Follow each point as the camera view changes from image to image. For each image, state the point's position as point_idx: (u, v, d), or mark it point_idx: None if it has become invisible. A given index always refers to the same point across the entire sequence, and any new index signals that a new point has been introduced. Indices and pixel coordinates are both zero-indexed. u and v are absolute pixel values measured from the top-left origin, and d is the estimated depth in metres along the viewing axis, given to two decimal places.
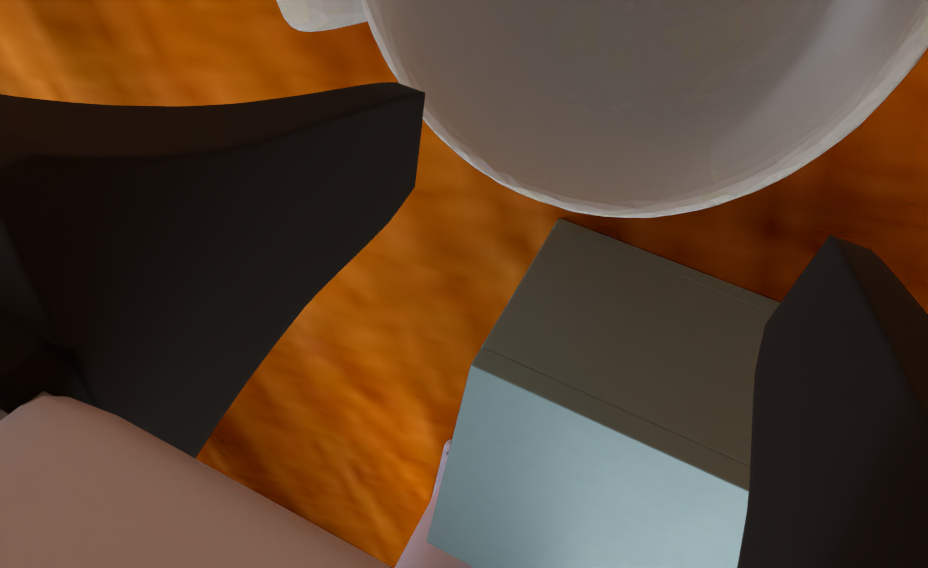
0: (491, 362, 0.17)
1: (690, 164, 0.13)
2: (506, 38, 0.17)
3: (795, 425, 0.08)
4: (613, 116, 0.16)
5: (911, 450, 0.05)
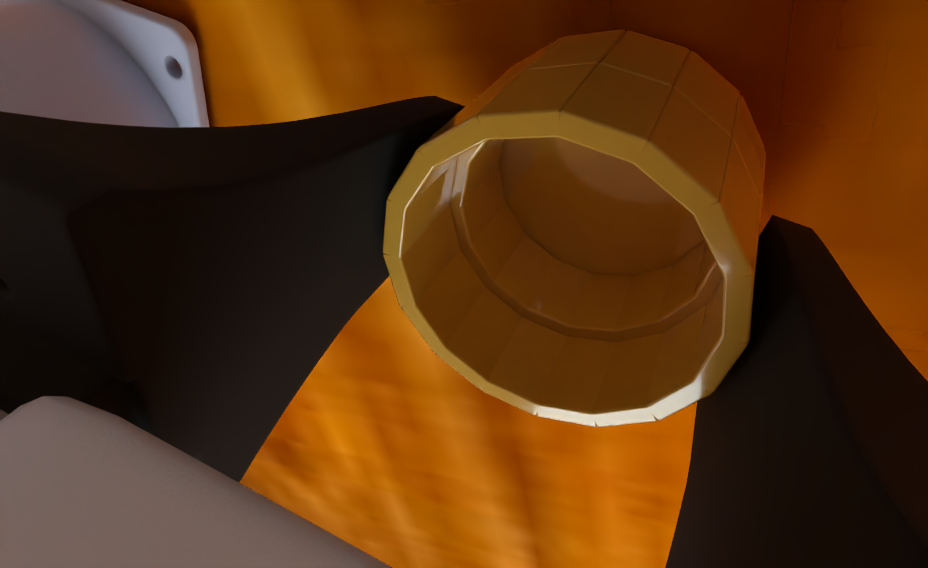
0: None
1: None
2: None
3: (730, 397, 0.08)
4: None
5: (812, 407, 0.05)
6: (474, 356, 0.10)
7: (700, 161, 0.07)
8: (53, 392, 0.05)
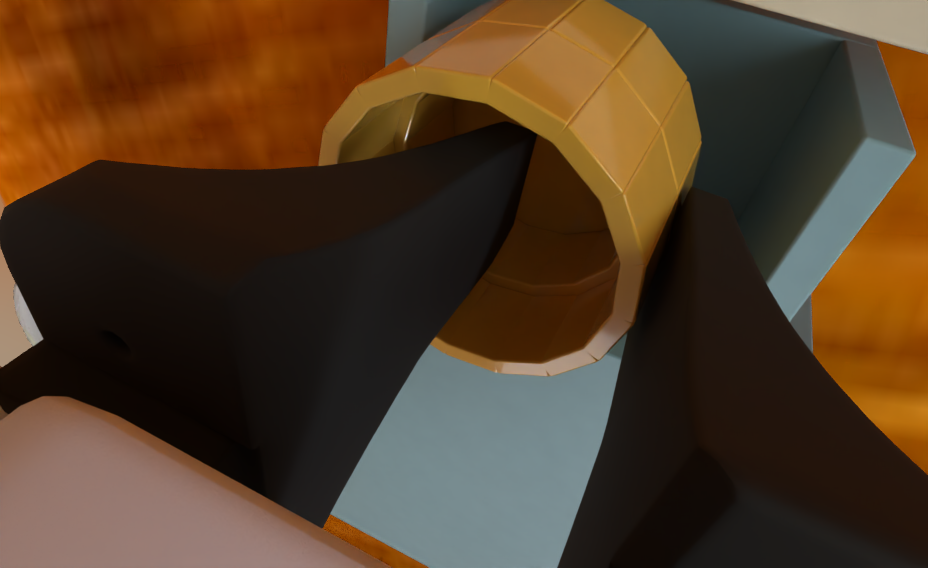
0: None
1: None
2: None
3: (638, 358, 0.08)
4: None
5: (675, 351, 0.06)
6: None
7: (617, 150, 0.07)
8: None
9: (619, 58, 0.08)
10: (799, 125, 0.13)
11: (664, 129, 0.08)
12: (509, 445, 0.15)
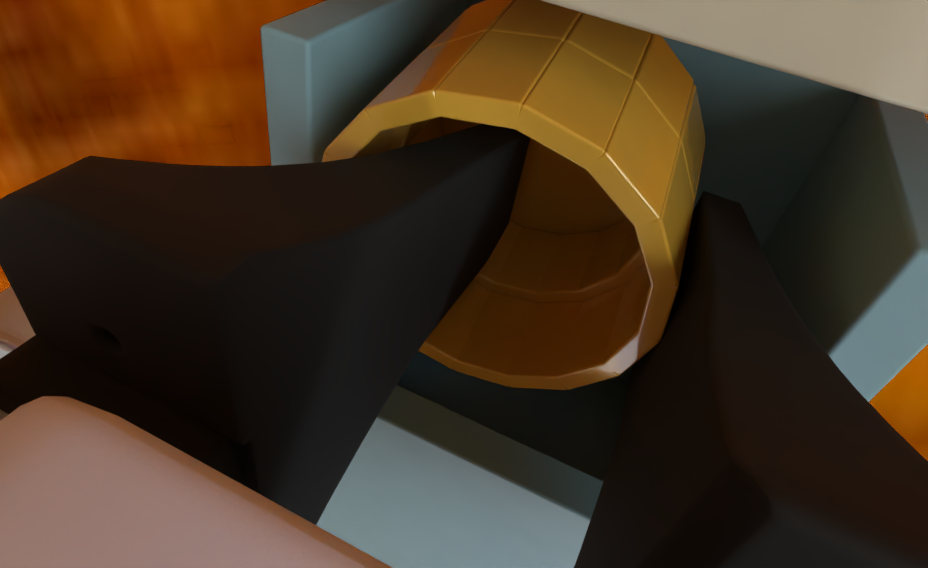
0: None
1: None
2: None
3: (652, 364, 0.08)
4: None
5: (695, 359, 0.06)
6: None
7: (649, 173, 0.07)
8: None
9: (636, 68, 0.08)
10: (812, 186, 0.11)
11: (682, 141, 0.08)
12: None
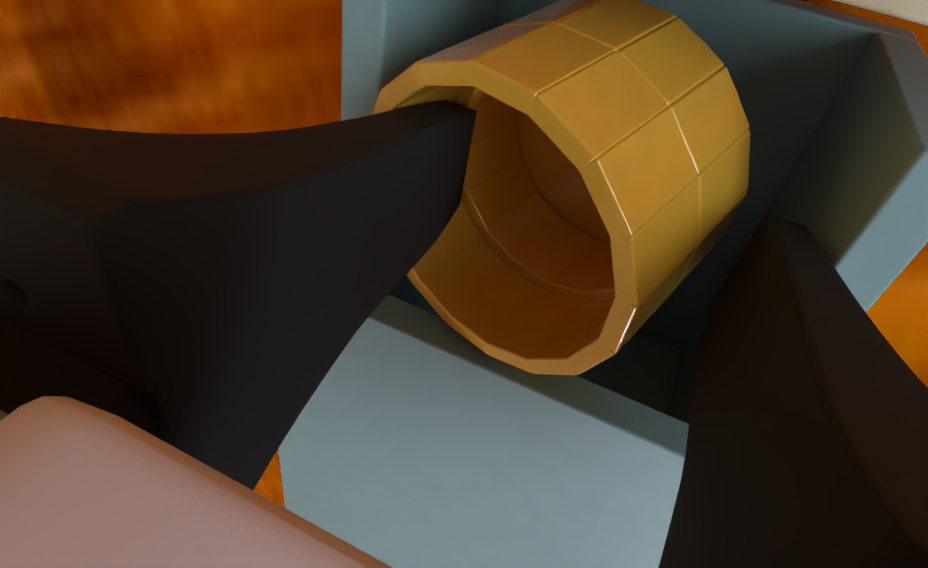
0: None
1: None
2: None
3: (723, 395, 0.08)
4: None
5: (803, 404, 0.05)
6: None
7: (641, 192, 0.07)
8: None
9: (679, 96, 0.08)
10: (824, 130, 0.12)
11: (702, 177, 0.08)
12: (490, 501, 0.14)
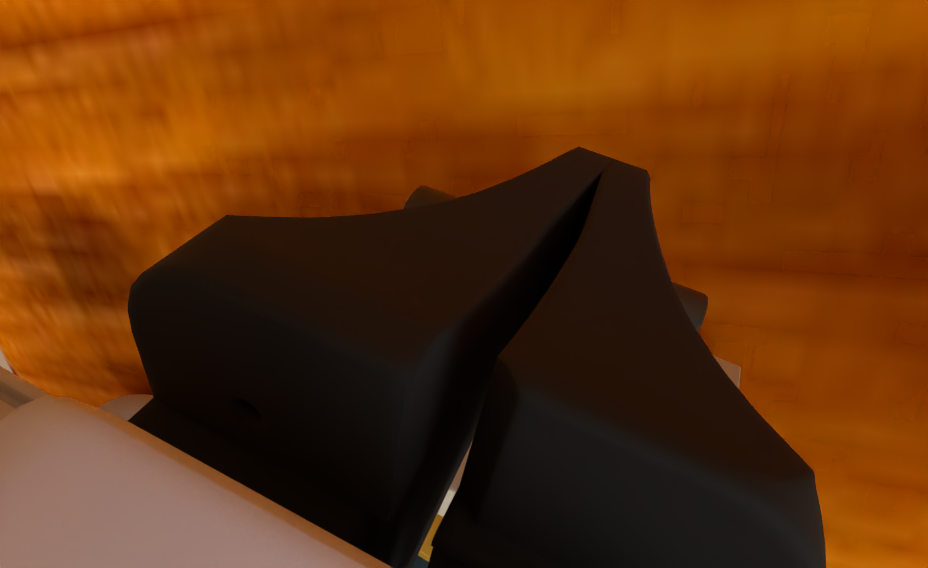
0: None
1: None
2: None
3: None
4: None
5: None
6: None
7: None
8: None
9: None
10: None
11: None
12: None
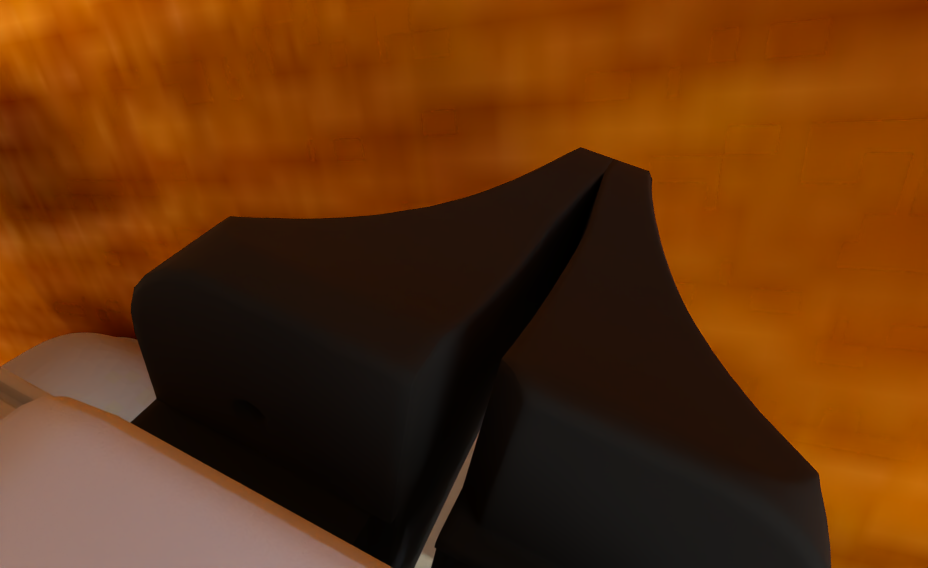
0: None
1: None
2: None
3: None
4: None
5: None
6: None
7: None
8: None
9: None
10: None
11: None
12: None
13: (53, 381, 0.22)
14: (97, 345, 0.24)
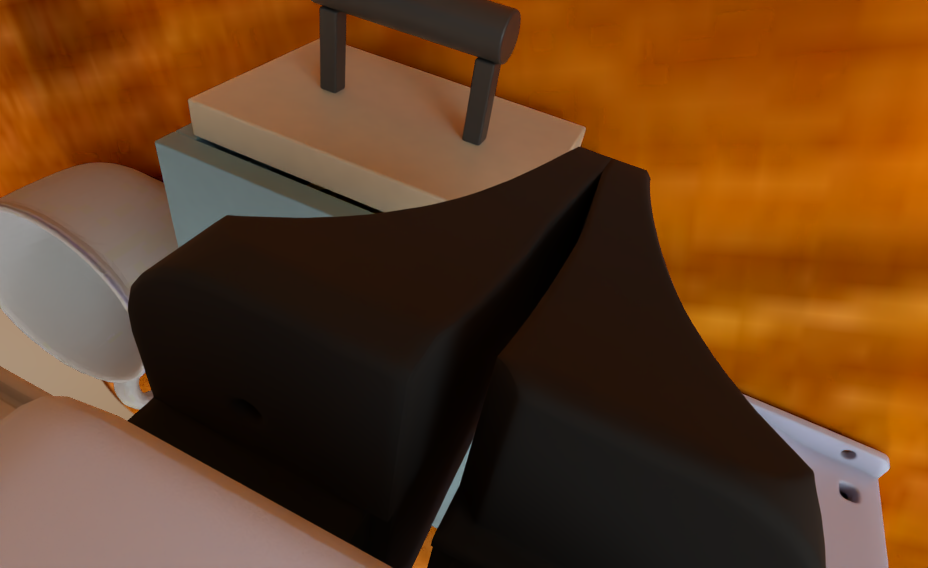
0: None
1: None
2: None
3: None
4: None
5: None
6: None
7: None
8: None
9: None
10: None
11: None
12: None
13: (78, 185, 0.28)
14: (112, 167, 0.30)
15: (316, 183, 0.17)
